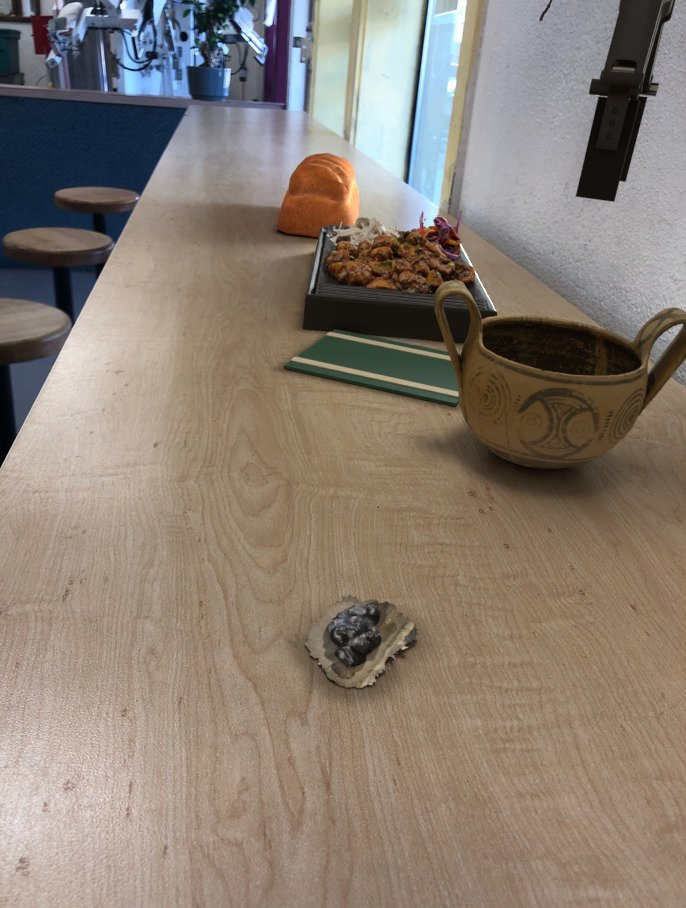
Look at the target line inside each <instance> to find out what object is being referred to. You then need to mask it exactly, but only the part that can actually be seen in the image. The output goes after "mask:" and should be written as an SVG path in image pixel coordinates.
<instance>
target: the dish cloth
mask: <svg viewBox="0 0 686 908" xmlns="http://www.w3.org/2000/svg"><path fill="white" fill-rule="evenodd" d="M458 355H459V356H460V355H461V353H458ZM283 369H284V370H288V371H293V372H298V373H301V374H302V373H303V374H307V375H310V376H315V377H319V378H323V379H324V378H325V379H329V380H333V381H337V382H343V383H347V384H351V385H356V386H359V387H360V386H361V387H365V388H369V389H375V390H378V391H382V392H387V393H392V394H395V395H401V396H405V397H409V398H410V397H411V398H413V399H419V400H423V401H428V402H432V403H435V404H436V403H437V404H440V405H445V406H450V407H456V406H457V405H459V396H458V384H457V380H456V375H455V371H454V367H453V364H452V361H451V359H450V356H449V354H448V351H447V350H442V349H436V348H430V347H426V346H422V345H415V344H411V343H407V342H403V341H402V342H401V341H397V340H393V339H392V340H391V339H387V338H383V337H382V338H381V337H376V336H373V335H367V334H357V333H352V332H347V331H342V330H337V329H334V330H333V331H328V332H327V333H326V334H325V335H323V337H322V338H320V339H318V341H315V342H314V343H313V344H312V345H311V346H309V347H308V348H306V349H304V350H303V351H301V352H300V353H299V354H298V355H296V356H294V357H292V358H291V359H290V360H289V361H288V362H287V363H285V364H284V365H283Z"/></svg>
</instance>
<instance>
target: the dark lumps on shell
mask: <svg viewBox="0 0 686 908" xmlns="http://www.w3.org/2000/svg"><path fill="white" fill-rule="evenodd" d="M323 612H324V613H323V614H322V615H321V617H320V616H317V618H316V620H317V622H313V624H312V625H310V628H309V630H308V635H307V640H306V641H305V642H304V646H305V647H306V648H307V650H308V651H309V656H310V657H312V658H313V659H317V661H318V663H317V665H318V666H319V665H320V666H322V667H321V669H322V670H323V672H325V674H326V677H327V678H328V679H329V680H330V681H334V684H335V685H336V686H337V685H338V686H339V687H344V688H345V689H350V688H355V689H363V688H365V687H367V685H368V686H373V684H374V683H376V682H377V679H376V677H379V674H383V673H384V671H385V672H386V671H387V670H386V669H387V668H386V661H387V660H388V657H391V658H392V659H394V661H397V659H396V655H395V654H397V652H398V651H399V650H402V651H403V650H405V649H408V648H409V646H407V644H409V643H412V642H413V640H417V639H418V637H417V636H418V635H419V632H417V631H418V629H417V627H416V624H414V622H412V620H410V618H407V617H406V618H405V617H404V616H403V612H402V611H398V607H397V606H396V605H395V603H390V602H389V601H383V602H379V600H377V598H376V599H373V598H372V599H370V598H368V600H366V599H365V601H361V600H360V599H359V598H357V596H354V597H353V596H352V594H351V593H349V594H348V595H347V596H345V595H343V596H341V600H339V601H338V600H337V601H335V602H334V603H332V604H331V605H329V606H327V607H326V608H324V609H323Z"/></svg>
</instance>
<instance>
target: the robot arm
mask: <svg viewBox="0 0 686 908" xmlns="http://www.w3.org/2000/svg"><path fill="white" fill-rule="evenodd" d="M676 1H677V0H619V3H618V14H617V18H616V22H615V27H614V29H613V33H612V36H611V37H612V38H611V41H610V45H609V48H608V51H607V56H606V59H605V63H604V67H603V69H602V70H601V71H600V75H599V78H594V77H593V78H591V81H590V85H589V89H588V95H589V96H598V97H597V101H596V106H595V110H594V115H593V118H592V122H591V123H592V124H591V127H590V132H589V136H588V141H587V145H586V149H585V153H584V158H583V163H582V167H581V172H580V174H579V175H580V176H579V180H578V184H577V189H576V194H575V198H582V199H590V200H597V201H604V202H611V203H612V202H614V203H615V201H616V197H617V194H618V189H619V185H620V182H622V183H623V182H624V183H626V182H627V178H628V174H629V170H630V166H631V163H632V159H633V156H634V151H635V147H636V143H637V140H638V136H639V132H640V129H641V125H642V121H643V116H644V113H645V108H646V105H647V102H648V97H656V96H657V93H658V90H659V86H660V82H653V81H654V77H655V75H654V69H655V66H656V61H657V57H658V53H659V48H660V44H661V41H662V36H663V31H664V28H665V24H666V23H667V22H669V21H670V20H671V19H672V16H673V12H674V9H675V5H676Z"/></svg>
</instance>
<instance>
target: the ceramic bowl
mask: <svg viewBox="0 0 686 908" xmlns="http://www.w3.org/2000/svg"><path fill="white" fill-rule="evenodd" d="M451 295H459V296H460V297H461V298H462V299H463V300H464V301H465V303H466V305H467V307H468V309H469V312H470V319H471V322H470V327H469V332H468V336H467V338H466V340H465V343H463V344H462V347H461V348H462V349H461V352H460V354H461V355H460V356H459V355H458V354H459V353H458V350H457V346H456V344H455V343H456V342H454V340H453V337H452V335H451V332H450V329H449V325H448V322H447V319H446V316H445V312H444V308H443V301H444V300H445V299H446V298H447V297H448V296H451ZM434 309H435V313H436V316H437V319H438V323H439V326H440V329H441V332H442V335H443V338H444V341H443V342H444V344H445V348H446V352H448V354H449V356H450V359H451V361H452V364H453V367H454V371H455V375H456V380H457V384H458V396H459V402H458V405H459V408H460V411H461V414H462V417H463V420H464V422H465V423H466V425H467V427H468V429H469V430H470V431H471V433H472V434H473V435H474V437H475V438H476V439H477V440H478V442H479V443H481V445H483V446H484V447H485V448H487V449H488V450H489V451H490V452H491V453H493V454H494V455H497V456H498V457H500V458H502V459H503V460H505V461H508V462H511V463H513V464H515V465H516V466H517V465H518V466H521V467H526V468H532V469H539V470H540V469H541V470H556V469H557V470H558V469H569V468H573V467H577V466H579V465H584V464H587V463H589V462H592V461H594V460H596V459H598V458H600V457H601V456H604V455H605V454H607V453H608V452H609V451H611V450H612V449H613V448H614V447H615V446H617V445H618V444H619V443H620V442H621V441H623V439H624V438H625V437H626V436H627V435H628V434H629V432H630V431H631V430H632V429H633V427H634V425H635V424H636V422H637V419H638V418H639V416H640V415H641V414H642V413H643V411H644V410H645V409H646V408H647V407H648V406H649V405H650V403H652V401H653V400H654V399H655V398H656V396H657V395H658V394H659V393H660V391H661V390H662V389H663V388H664V387H665V385H666V384H667V382H668V381H669V380H670V379H671V378H672V376H673V375H675V373H676V372H677V370H678V369H679V368H680V367H681V366H682V364H683V363H684V362H685V361H686V311H685V310H684V309H682V308H679V307H673V306H672V307H667V308H664V309H662V310H660V311H659V312H657V313H655V314H654V315H653V316H652V317H650V318H649V319H648V320H647V321H646V322H645V323H644V324H643V325H642V326H641V328H640V329H639V330H638V332H637V333H636V335H635V337H634V339H633V340H631V341H630V340H629V339H627V338H625V337H623V336H621V335H619V334H618V333H615V332H613V331H610V330H606V329H603V328H601V327H598V326H595V325H593V324H589V323H584V322H578V321H573V320H571V319H566V318H557V317H551V316H544V315H534V314H533V315H532V314H503V315H497V316H494V317H488V318H485V319H482V318H481V314H480V312H479V309H478V307H477V305H476V303H475V301H474V299H473V297H472V295H471V293H470V292H469V290H468V289H467V288H466V287H465V286H463V285H462V284H460V283H458V282H454V281H448V282H445V283H442V284H441V285H440V286H439V287H438V289H437V290H436V293H435V295H434ZM678 325H682V326H681V328H680V330H679V331H678V332H677V333H676V335H675V337H674V338H673V339H672V341H671V342H670V343H669V345H668V346H667V347H666V348H665V350H664V351H663V352H662V354H661V355H660V356H659V358H658V359H657V361H656V362H655V363H654V365H653V366H652V367H651V369H650V370H649V369H648V368H649V367H648V366H649V360H650V356H651V353H652V349H653V346H654V344H655V343H656V342H657V340H658V339H659V338H660V337H661V336H662V335H663V334H664V333H666V332H668V331H669V330H671V329H672V328H673V327H676V326H678Z"/></svg>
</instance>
